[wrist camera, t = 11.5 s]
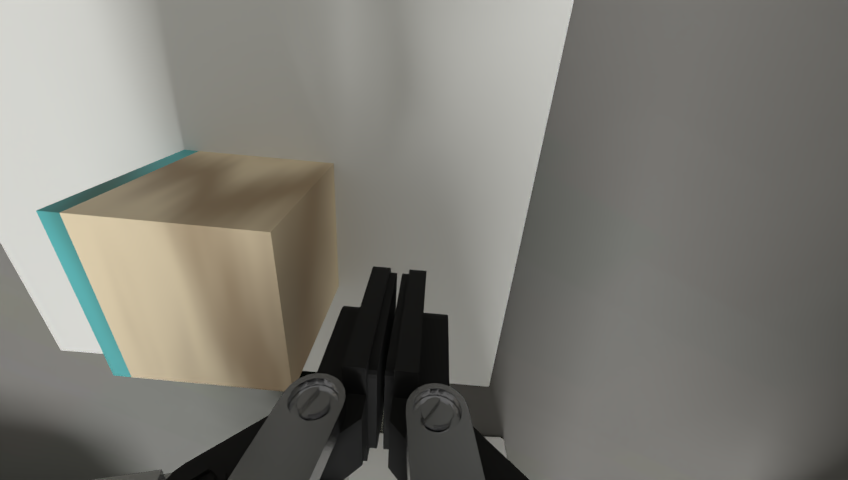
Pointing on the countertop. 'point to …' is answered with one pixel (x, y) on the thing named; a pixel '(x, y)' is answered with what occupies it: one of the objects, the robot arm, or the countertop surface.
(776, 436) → the countertop surface
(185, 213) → the block
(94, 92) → the mat
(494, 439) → the gable box
